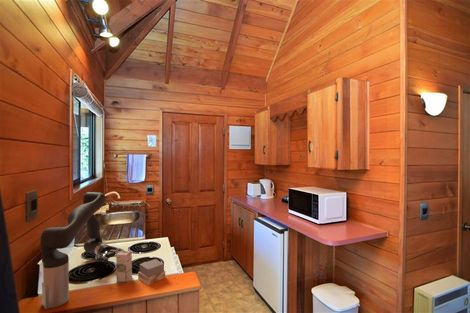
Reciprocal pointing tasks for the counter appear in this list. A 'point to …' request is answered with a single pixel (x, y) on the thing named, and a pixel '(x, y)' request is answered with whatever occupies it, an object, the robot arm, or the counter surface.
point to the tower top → (151, 268)
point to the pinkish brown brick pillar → (124, 266)
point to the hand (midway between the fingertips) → (115, 258)
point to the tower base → (151, 279)
